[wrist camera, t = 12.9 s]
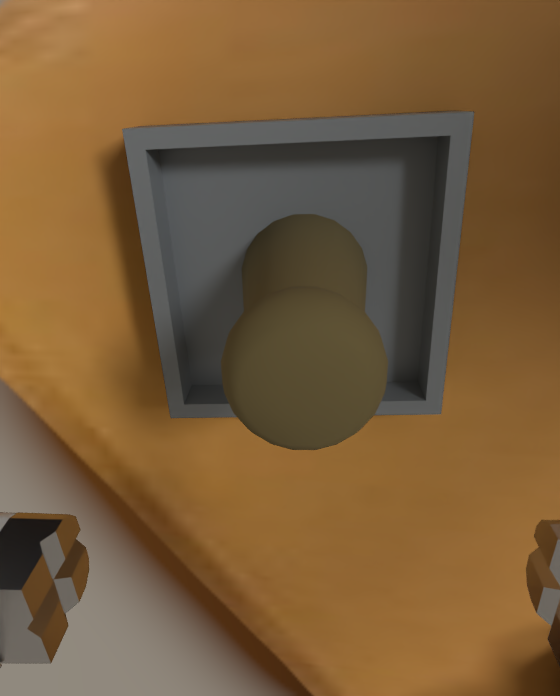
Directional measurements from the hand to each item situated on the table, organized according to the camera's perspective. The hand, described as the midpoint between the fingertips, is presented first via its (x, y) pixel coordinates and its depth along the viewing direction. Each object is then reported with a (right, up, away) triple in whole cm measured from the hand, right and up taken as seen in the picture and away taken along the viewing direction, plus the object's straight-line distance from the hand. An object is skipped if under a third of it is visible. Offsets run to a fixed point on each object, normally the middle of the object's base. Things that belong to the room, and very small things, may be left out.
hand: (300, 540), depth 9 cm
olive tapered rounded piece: (+1, +7, +15) cm, 17 cm away
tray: (+1, +7, +16) cm, 17 cm away
